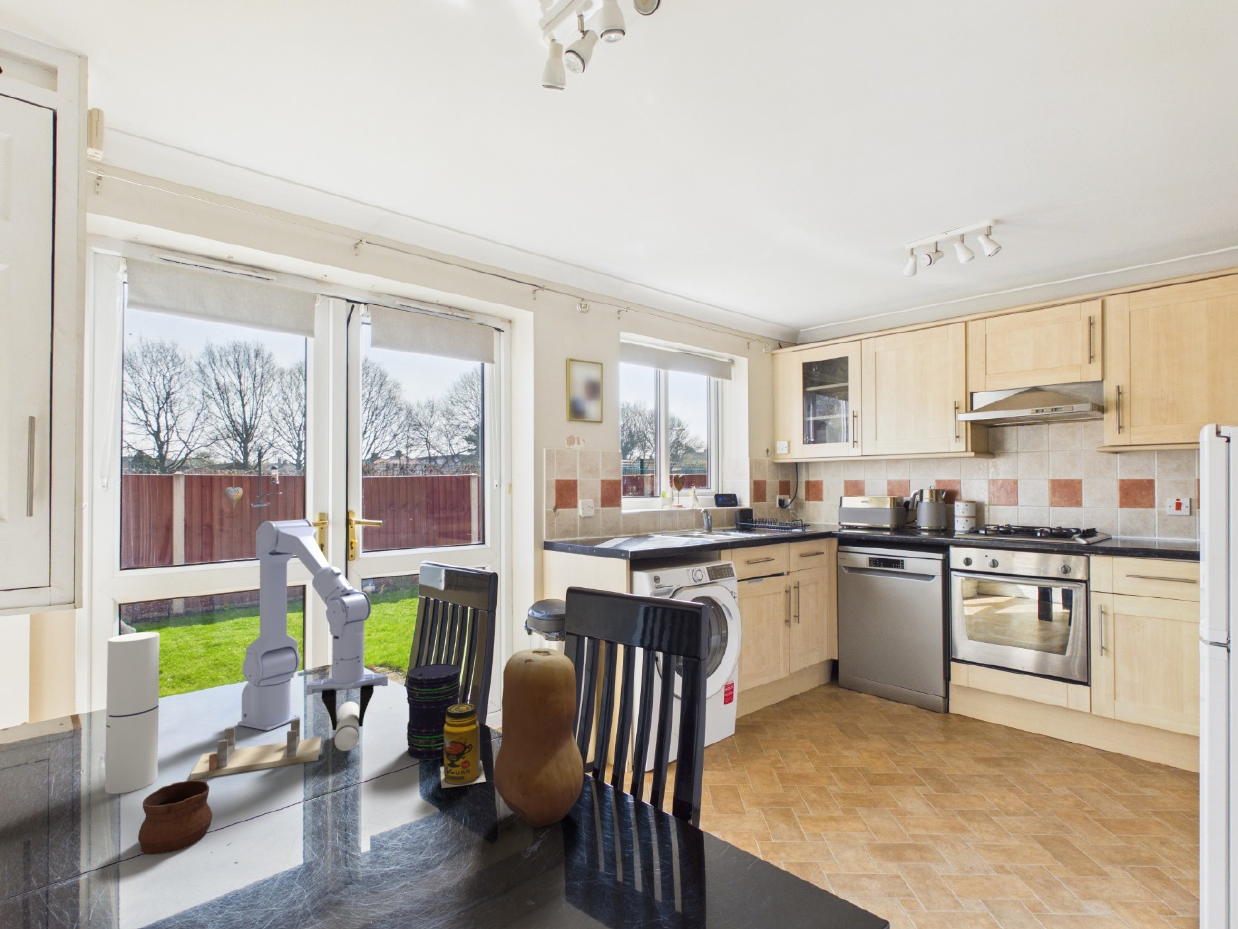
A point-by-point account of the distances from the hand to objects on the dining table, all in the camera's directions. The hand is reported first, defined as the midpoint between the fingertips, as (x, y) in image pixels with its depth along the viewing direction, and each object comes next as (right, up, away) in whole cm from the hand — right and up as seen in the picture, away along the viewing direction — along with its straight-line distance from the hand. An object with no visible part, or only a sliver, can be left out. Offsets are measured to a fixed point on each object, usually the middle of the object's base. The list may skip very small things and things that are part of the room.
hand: (347, 726), depth 123 cm
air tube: (0, 0, 0) cm, 0 cm away
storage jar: (+17, -4, -2) cm, 18 cm away
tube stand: (-14, -4, -6) cm, 15 cm away
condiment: (+26, -3, -13) cm, 29 cm away
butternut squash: (+41, -3, -27) cm, 49 cm away
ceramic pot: (-11, -4, -32) cm, 34 cm away
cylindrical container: (-31, -4, -15) cm, 34 cm away
